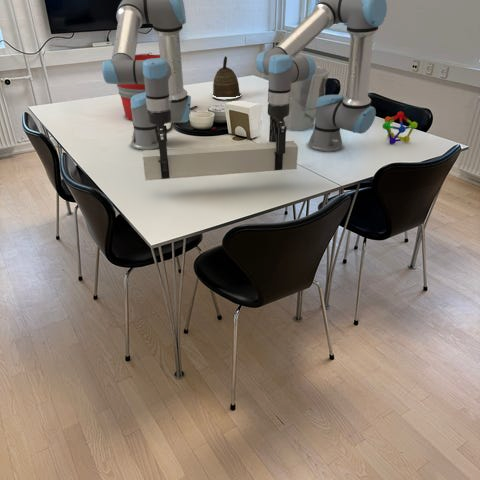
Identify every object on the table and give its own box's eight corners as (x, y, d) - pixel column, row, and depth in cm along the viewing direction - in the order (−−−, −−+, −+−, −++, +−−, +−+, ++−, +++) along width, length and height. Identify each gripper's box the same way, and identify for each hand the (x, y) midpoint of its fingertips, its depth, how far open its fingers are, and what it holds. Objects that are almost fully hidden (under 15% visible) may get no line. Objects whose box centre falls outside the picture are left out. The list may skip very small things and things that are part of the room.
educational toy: (377, 146, 209) (379, 114, 202) (384, 138, 219) (386, 107, 211) (411, 149, 202) (415, 116, 195) (417, 141, 212) (420, 109, 204)
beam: (145, 180, 155) (142, 156, 150) (145, 173, 160) (142, 150, 155) (296, 169, 164) (298, 146, 159) (291, 162, 169) (293, 140, 164)
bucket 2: (296, 138, 215) (301, 78, 201) (255, 124, 234) (256, 68, 219) (335, 125, 232) (342, 70, 217) (294, 113, 251) (297, 61, 236)
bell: (227, 105, 294) (202, 96, 282) (238, 66, 289) (213, 55, 277) (243, 108, 280) (217, 98, 268) (255, 66, 275) (229, 55, 263)
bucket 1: (124, 106, 262) (117, 51, 246) (183, 106, 262) (180, 52, 246) (108, 124, 233) (99, 63, 217) (174, 124, 232) (170, 64, 216)
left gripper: (172, 118, 138) (177, 185, 151) (168, 101, 154) (173, 163, 166) (148, 119, 137) (155, 186, 150) (146, 102, 153) (153, 164, 165)
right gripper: (297, 110, 145) (293, 175, 157) (281, 95, 161) (278, 155, 173) (275, 112, 144) (272, 177, 156) (261, 96, 159) (260, 157, 172)
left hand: (165, 174), depth 158 cm, fingers closed on beam, 6 cm apart
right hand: (275, 165), depth 165 cm, fingers closed on beam, 6 cm apart
